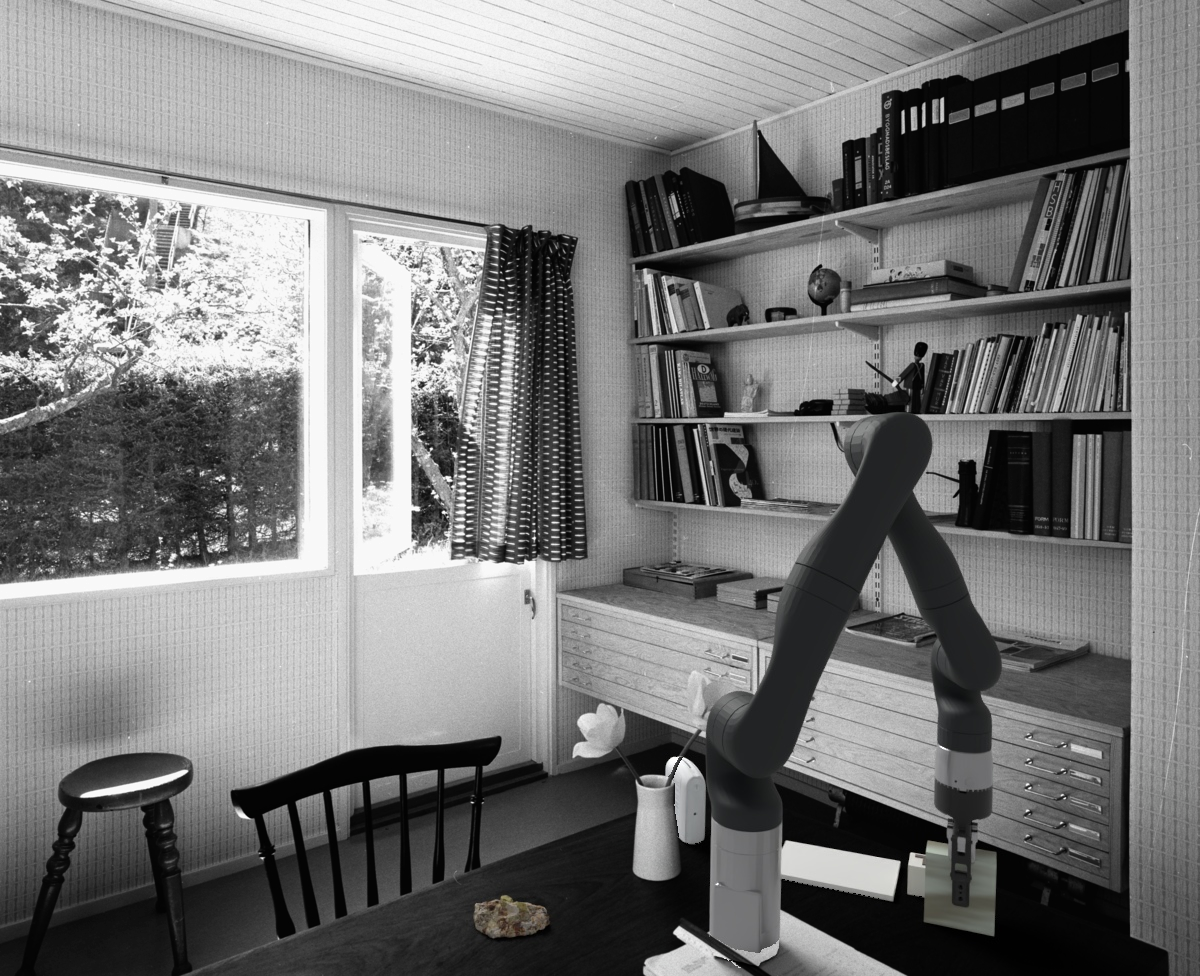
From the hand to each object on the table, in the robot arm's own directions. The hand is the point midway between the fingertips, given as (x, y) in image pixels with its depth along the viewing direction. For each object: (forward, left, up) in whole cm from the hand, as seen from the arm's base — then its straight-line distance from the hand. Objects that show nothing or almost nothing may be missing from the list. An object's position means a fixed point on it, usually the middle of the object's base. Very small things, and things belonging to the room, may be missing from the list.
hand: (961, 890), depth 127 cm
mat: (+8, +18, -4) cm, 20 cm away
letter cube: (+7, +5, -4) cm, 10 cm away
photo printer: (+12, +44, -5) cm, 46 cm away
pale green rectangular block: (0, 0, -4) cm, 4 cm away
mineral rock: (-26, +57, -5) cm, 63 cm away
